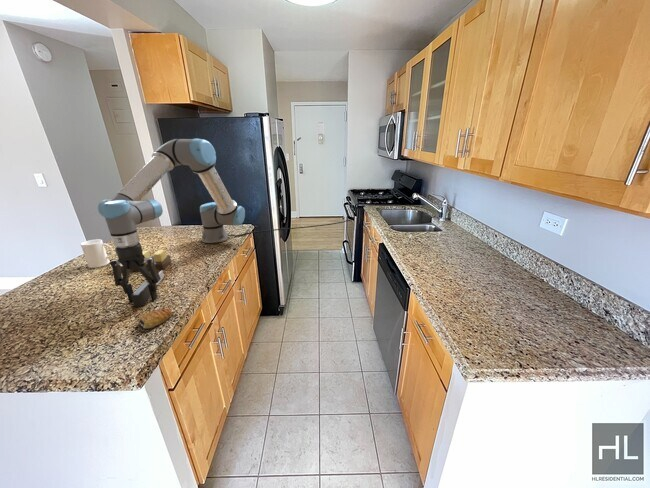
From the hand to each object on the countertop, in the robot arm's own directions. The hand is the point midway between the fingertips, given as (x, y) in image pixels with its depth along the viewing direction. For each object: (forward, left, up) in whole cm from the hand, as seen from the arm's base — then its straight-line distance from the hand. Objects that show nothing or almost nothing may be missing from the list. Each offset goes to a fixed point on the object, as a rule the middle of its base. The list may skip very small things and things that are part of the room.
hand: (143, 299), depth 101 cm
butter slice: (+6, -32, +3) cm, 33 cm away
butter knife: (0, -7, 0) cm, 7 cm away
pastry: (-10, +15, 0) cm, 18 cm away
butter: (+17, -32, +3) cm, 36 cm away
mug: (+36, -38, 0) cm, 52 cm away
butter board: (+13, -32, 0) cm, 35 cm away
